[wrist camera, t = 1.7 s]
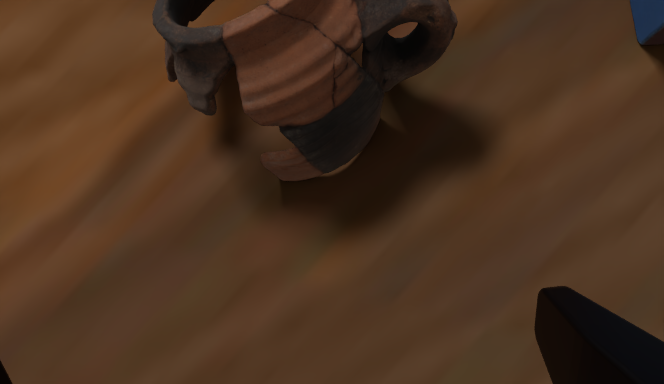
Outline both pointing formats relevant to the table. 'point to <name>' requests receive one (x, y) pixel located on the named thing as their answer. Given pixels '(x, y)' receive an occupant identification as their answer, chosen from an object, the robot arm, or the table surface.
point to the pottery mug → (305, 68)
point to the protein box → (648, 21)
